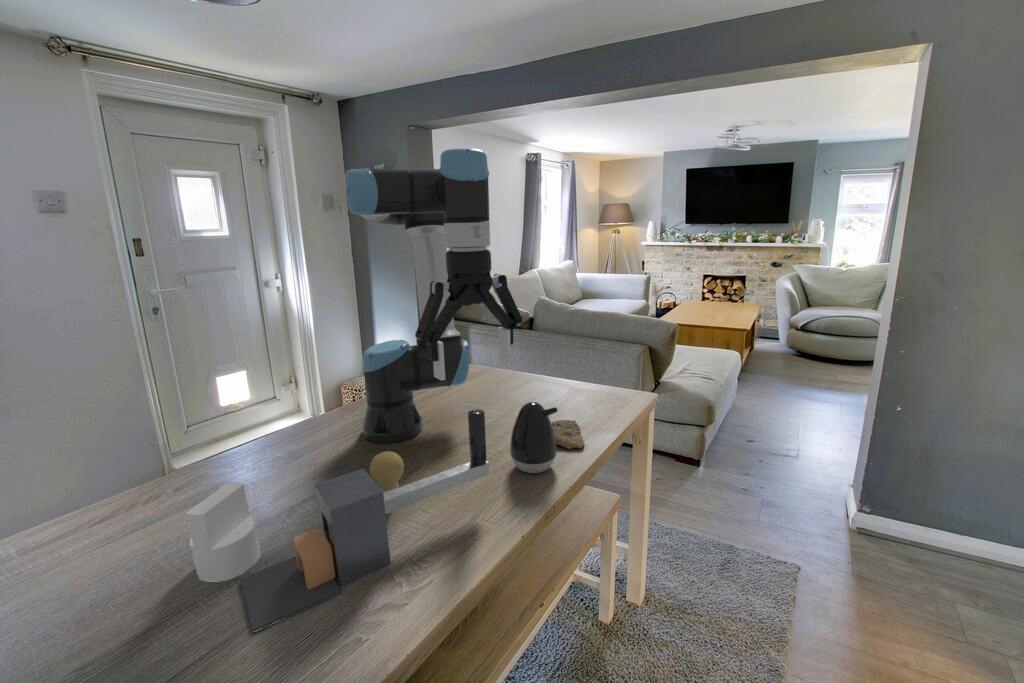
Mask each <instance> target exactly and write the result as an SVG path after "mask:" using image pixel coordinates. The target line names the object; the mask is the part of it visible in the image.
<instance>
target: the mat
mask: <svg viewBox="0 0 1024 683" xmlns="http://www.w3.org/2000/svg"><path fill="white" fill-rule="evenodd" d="M240 583H241V588H242V592H243V596H244V600H246V601H245V605H246V609H247V612H248V617H249V621H250V625H252V626H251V629H253V630H252V633H253V632H254V631H256V630H258V629H260V628H264V627H266V626H268V625H270V624H272V623H274V622H276V621H279V620H282V619H284V618H286V619H288V618H290V617H292V616H291V615H293V614H295V615H296V613H297V614H299V613H301V612H303V611H306V610H308V609H310V608H312V607H314V606H316V605H319V604H320V603H323V602H325V601H327V600H330V599H331V598H334V597H336V596H337V595H341V589H340V588H339V585H338V584H337V581H336V580H335V578H333V579H331V580H329V581H327V582H324V583H322V584H320V585H318V586H316V587H314V588H311V589H309V590H308V588H307V586H306V581H305V575H304V571H302V572H300V571H299V569H298V566H297V560H296V555H295V556H293V557H291V558H288V559H286V560H283V561H280V562H278V563H275V564H273V565H271V566H268V567H265V568H263V569H261V570H257V571H254V572H253V573H250V574H247V575H245V576H243V577H240ZM298 612H299V613H298ZM289 616H290V617H289ZM293 616H294V615H293ZM287 617H288V618H287ZM284 620H285V619H284ZM282 621H283V620H282ZM266 628H267V627H266ZM264 629H265V628H264Z"/></svg>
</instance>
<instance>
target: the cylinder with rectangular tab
mask: <svg viewBox="0 0 1024 683" xmlns="http://www.w3.org/2000/svg"><path fill="white" fill-rule="evenodd" d="M185 515H186V519H187V525H188V529H189V533H190V539H189V545H190V550H191V554H192V558H193V562H194V566H195V571H196V575H198V576H197V578H198V577H199V578H201V579H203V580H206V581H223V580H227V579H231V578H234V577H236V576H238V577H240V576H242V575H243V574H242V573H244V572H245V571H246V570H248V569H249V568H251V567H252V566H253V565H254V564H255V563H256V561H257V560H258V559H260V557H261V548H260V543H259V540H258V539H259V538H258V533H257V528H256V522H255V520H254V517H252V516H250V512H249V507H248V500H247V494H246V489H245V484H244V483H241V482H227V483H226V484H224V485H223V486H222V487H220V488H219V489H217V490H216V491H215V492H213V493H212V494H210V495H209V496H208V497H206V498H205V499H204V500H202V501H201V502H199V503H198V504H196V505H194V507H192V508H191V509H190V510H189V511H187V512H186V513H185ZM259 556H260V557H259ZM258 561H259V560H258ZM258 561H257V562H258ZM256 564H257V563H256ZM256 564H255V565H256ZM255 565H254V566H255ZM254 566H253V567H254ZM253 567H252V568H253ZM252 568H251V569H252ZM248 571H249V570H248ZM245 573H246V572H245ZM245 573H244V574H245ZM241 574H242V575H241ZM239 575H240V576H239ZM199 578H198V579H199ZM236 578H237V577H236ZM234 579H235V578H234ZM231 580H232V579H231Z"/></svg>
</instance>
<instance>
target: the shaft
mask: <svg viewBox="0 0 1024 683" xmlns="http://www.w3.org/2000/svg"><path fill="white" fill-rule="evenodd" d="M485 420H486V417H485V410H483V409H478V408H477V409H476V408H475V409H471V410H469V411H468V412H467V421H468V438H469V441H468V442H469V455H470V456H469V458H470V459H469V460H470V461H469V462H465V463H463V464H461V465H457V466H454V467H452V468H449V469H447V470H444V471H441V472H437V473H435V474H433V475H430V476H427V477H424V478H422V479H419V480H416V481H414V482H409V483H408V484H404V485H402V486H399V488H396V489H393V490H391V491H388V492H385V493H383V495H384V504H385V514H386V515H387V514H390V513H392V512H394V511H398V510H400V509H402V508H405V507H408V506H411V505H413V504H415V503H418V502H420V501H424V500H426V499H429V498H431V497H434V496H436V495H438V494H441V493H444V492H446V491H449V490H451V489H454V488H457V487H459V486H462V485H464V484H467V483H469V482H472V481H475V480H477V479H480V478H483V477H484V476H488V475H490V462H489V461H488V460H487V458H488V457H487V442H486V440H487V439H486V438H487V436H486V421H485ZM327 526H328V522H327Z"/></svg>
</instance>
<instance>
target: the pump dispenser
mask: <svg viewBox="0 0 1024 683" xmlns="http://www.w3.org/2000/svg"><path fill="white" fill-rule="evenodd" d="M557 412H558V408H557V407H550V408H548V409H545V408H544V406H543V405H541V404H540V403H539V402H536V401H530V402H527V403H525V404H524V405H522V407H521V408H520V409H519V411H518V414H517V416H516V418H515V420H514V422H513V426H512V429H511V436H510V443H509V455H510V456H511V458H512V461H513V463H514V465H515V466H516V467H517V468H518V469H519V470H521V472H524V473H528V474H540V473H543V472H545V471H547V470H548V469H549V468H550V467H551V466H552V465H553V463H554V460H555V458H556V456H557V452H558V451H557V450H558V449H557V444H556V439H555V434H554V430H553V426H552V421H551V419H550V417H549V416H551V415H553V414H555V413H557Z"/></svg>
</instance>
